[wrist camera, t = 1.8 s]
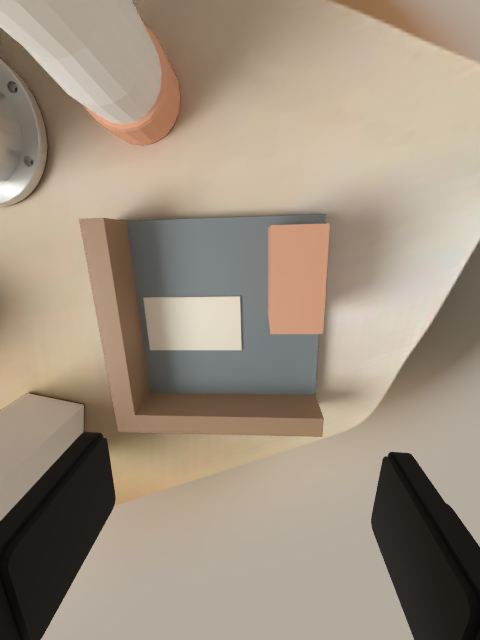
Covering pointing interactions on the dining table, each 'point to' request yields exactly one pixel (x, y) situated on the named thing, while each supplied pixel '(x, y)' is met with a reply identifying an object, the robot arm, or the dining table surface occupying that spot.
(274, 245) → the terracotta block
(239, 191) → the dining table surface
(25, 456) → the milk carton
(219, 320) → the arena board
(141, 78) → the pepper shaker
